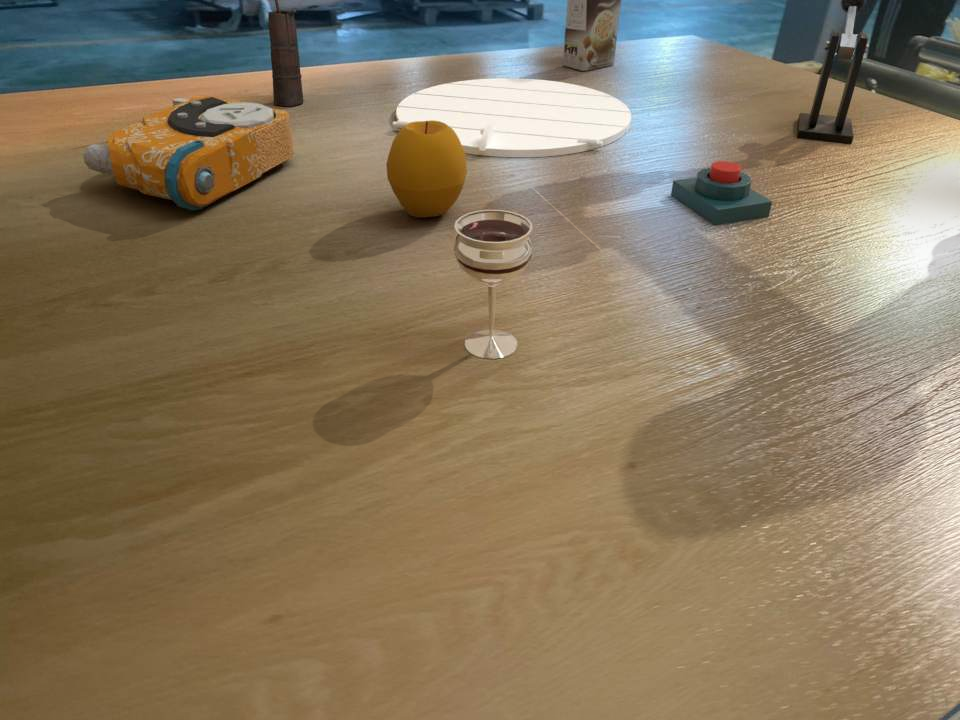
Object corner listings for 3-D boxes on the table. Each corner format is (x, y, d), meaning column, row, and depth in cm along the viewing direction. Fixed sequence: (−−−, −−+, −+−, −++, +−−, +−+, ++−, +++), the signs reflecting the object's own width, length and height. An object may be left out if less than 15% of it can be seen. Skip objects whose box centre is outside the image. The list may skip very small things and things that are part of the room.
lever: (839, 2, 122) (845, -18, 119) (863, 3, 121) (870, -16, 118) (829, 61, 117) (835, 42, 114) (854, 63, 116) (861, 44, 113)
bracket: (797, 119, 128) (821, 25, 120) (848, 125, 126) (876, 29, 118) (797, 138, 120) (821, 38, 112) (851, 144, 118) (880, 43, 110)
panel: (768, 217, 95) (776, 187, 93) (714, 226, 93) (720, 195, 91) (721, 188, 103) (727, 159, 101) (670, 196, 101) (675, 167, 98)
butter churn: (333, 100, 135) (315, -82, 119) (294, 114, 128) (270, -77, 112) (296, 92, 139) (273, -85, 123) (256, 104, 132) (227, -81, 116)
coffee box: (584, 72, 152) (591, -17, 143) (561, 65, 156) (567, -21, 147) (615, 65, 157) (624, -21, 148) (592, 59, 161) (600, -25, 152)
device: (39, 130, 95) (204, 74, 118) (59, 193, 100) (214, 127, 122) (179, 158, 87) (327, 92, 110) (194, 224, 92) (333, 148, 115)
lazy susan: (614, 171, 108) (617, 147, 106) (357, 144, 116) (355, 122, 114) (640, 94, 140) (643, 74, 138) (437, 77, 148) (437, 59, 146)
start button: (744, 182, 95) (747, 169, 94) (720, 186, 94) (722, 172, 93) (727, 172, 98) (729, 159, 97) (703, 176, 97) (705, 162, 96)
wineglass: (493, 316, 75) (496, 203, 68) (542, 345, 71) (550, 227, 64) (440, 341, 72) (437, 223, 65) (488, 373, 67) (490, 251, 61)
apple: (425, 238, 90) (421, 140, 83) (372, 214, 95) (365, 120, 88) (482, 214, 95) (483, 120, 89) (429, 192, 101) (427, 103, 94)
